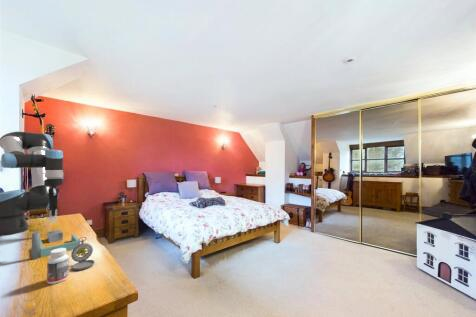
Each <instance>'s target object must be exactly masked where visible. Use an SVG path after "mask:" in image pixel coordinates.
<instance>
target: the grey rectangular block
mask: <svg viewBox="0 0 476 317" xmlns="http://www.w3.org/2000/svg"><path fill="white" fill-rule="evenodd" d="M46 235H47V237H46V238H47V241H48V243H49V244H52V243H55V242H60V241H63V239H64V238H63V236H64V232H63V231H62V230H61V229H58V230H56V229H55V230H51V231H47V234H46Z"/></svg>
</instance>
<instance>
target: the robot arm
mask: <svg viewBox="0 0 476 317" xmlns="http://www.w3.org/2000/svg"><path fill="white" fill-rule="evenodd" d="M0 147H1V149H3V152H4V153H2V154H1V155H0V156H1V157H0V160H1V161H0V166H1V167H2V168H3V169H4V168H5V169H19V168H20V169H24V168H26V169H27V168H28V169H29V168H30V170H31V171H30V173H31V187H30V188H29V189H28V191H26V189H24V188H23V189H15V190H8V191H3V192H0V237H1V236H2V235H3V236H9V235H15V234H19V233H23V232H25V231H28V230H29V223H28V220H27V219H26V216H25V213H26V212H30V211H31V212H32V211H39V210H47V209H48V211H49V223H55V222H57V216H58V215H57V214H58V213H57V212H58V211H57V210H58V209H59V208H58V200H59V191H60V189H59V188H58V186H63V182H64V181H63V180H64V179H63V177H64V169H63V168H64V152H63V150H60V149H54V141H53V138H52V136H51V135H50V134H47V133H42V132H40V133H39V132H38V133H37V132H29V131H28V132H27V131H12V132H8V133H5V134H4V135H2V136H1V137H0ZM25 150H26V153H25Z"/></svg>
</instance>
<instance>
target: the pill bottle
mask: <svg viewBox="0 0 476 317" xmlns="http://www.w3.org/2000/svg"><path fill="white" fill-rule="evenodd" d="M49 256H50V257H49V258H48V259H47V261H46V262H47V264H46V266H47V267H46V268H47V269H46V283H47V284H48V285H55V284H59V283H62V282H64V281H65V280H67V279H68V278H69V272H70V271H69V270H70V269H69V267H70V263H69V262H70V256H69V255H68V254H67V251H66V248H58V249H54V250H52V251H51V252H50V255H49Z"/></svg>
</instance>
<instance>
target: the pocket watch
mask: <svg viewBox="0 0 476 317" xmlns="http://www.w3.org/2000/svg"><path fill="white" fill-rule="evenodd" d="M82 238H85V239H82ZM80 239H81V240H80ZM79 240H80V244H79V245H77V246H76V247H75V248H74V249H73V250H71V254H70V255H71V256H70V257H71V259H72V260H73V261H74V262H75V263H74V264H73V265H72V267H71V268H72V269H73V270H75V271H81V270H86V269H89V268H91V267H92V266H93V265H94V264H95V260H94V259H89V258H90V257H91V256H92V254H93V252H94V248H93V246H92V245H91V244H90V243H88V242H85V241H87V237H86V236H82V237H80V238H78V241H79Z"/></svg>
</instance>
